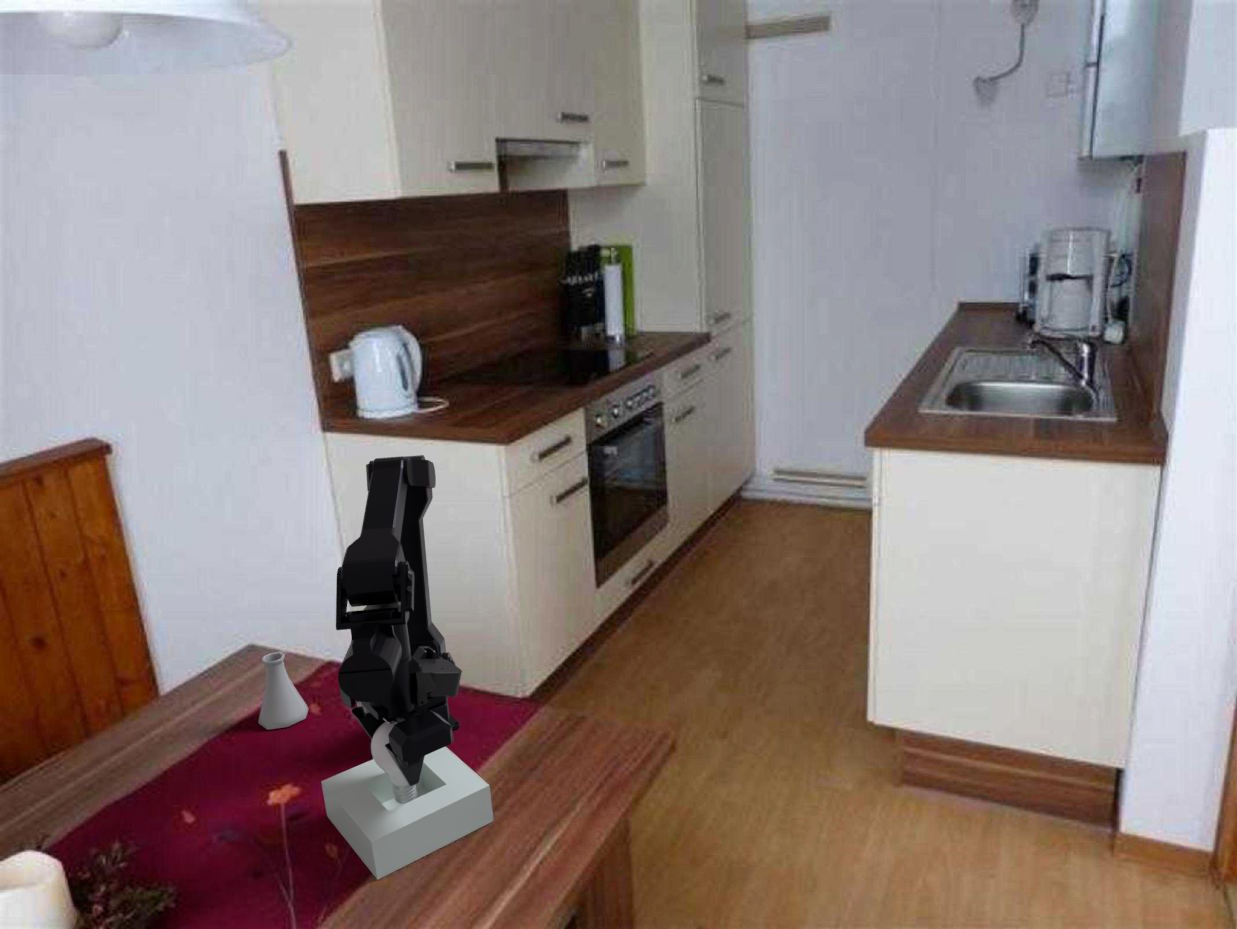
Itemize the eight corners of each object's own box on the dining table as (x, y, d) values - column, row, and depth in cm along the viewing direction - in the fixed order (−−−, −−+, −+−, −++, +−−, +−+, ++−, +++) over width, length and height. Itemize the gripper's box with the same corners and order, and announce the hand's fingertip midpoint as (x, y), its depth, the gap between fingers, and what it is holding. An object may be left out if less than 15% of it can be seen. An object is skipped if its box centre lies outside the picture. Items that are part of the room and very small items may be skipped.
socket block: (327, 816, 116) (321, 781, 115) (436, 767, 125) (431, 734, 124) (377, 879, 105) (371, 842, 103) (493, 820, 113) (489, 785, 112)
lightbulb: (442, 800, 114) (431, 720, 111) (395, 825, 110) (383, 743, 107) (416, 779, 119) (405, 701, 116) (370, 801, 115) (357, 722, 112)
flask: (255, 713, 141) (243, 653, 138) (304, 699, 144) (294, 640, 142) (262, 736, 135) (250, 674, 132) (313, 720, 138) (302, 659, 135)
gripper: (486, 660, 106) (500, 779, 111) (413, 609, 121) (428, 716, 125) (395, 696, 100) (414, 821, 104) (329, 638, 114) (348, 750, 119)
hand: (402, 772), depth 113 cm, fingers closed on lightbulb, 6 cm apart
